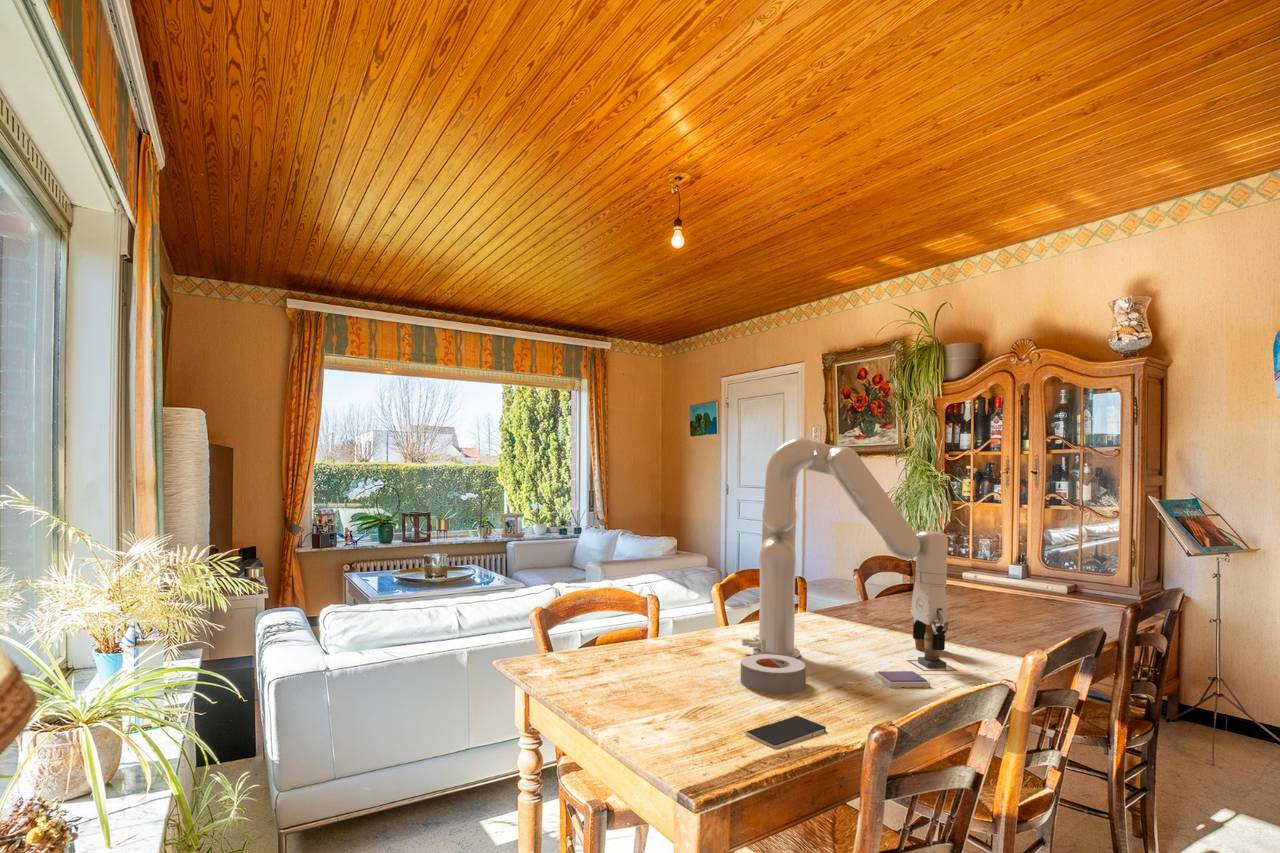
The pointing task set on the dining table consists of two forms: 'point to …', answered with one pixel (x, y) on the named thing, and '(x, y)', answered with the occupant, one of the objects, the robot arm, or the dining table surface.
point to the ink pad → (901, 679)
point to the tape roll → (773, 674)
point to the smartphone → (786, 732)
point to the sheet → (919, 669)
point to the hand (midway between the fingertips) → (928, 644)
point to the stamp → (931, 654)
